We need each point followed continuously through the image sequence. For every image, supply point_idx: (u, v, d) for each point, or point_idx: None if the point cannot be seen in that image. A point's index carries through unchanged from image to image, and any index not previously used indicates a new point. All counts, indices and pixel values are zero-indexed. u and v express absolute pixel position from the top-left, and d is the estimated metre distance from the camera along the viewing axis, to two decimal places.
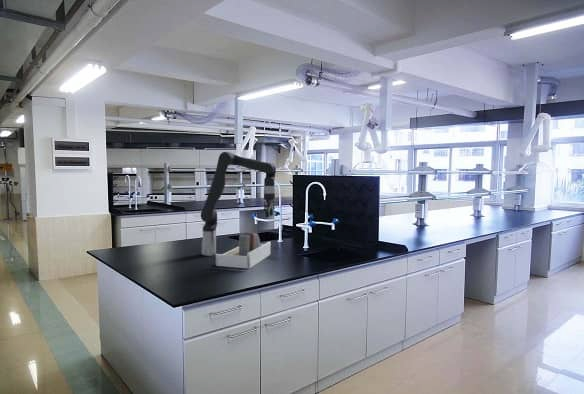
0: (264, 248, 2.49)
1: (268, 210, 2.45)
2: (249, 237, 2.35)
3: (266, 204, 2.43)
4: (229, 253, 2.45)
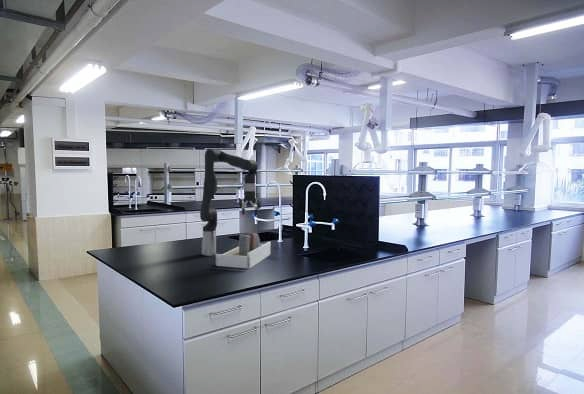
0: (264, 248, 2.49)
1: None
2: (249, 237, 2.35)
3: None
4: (229, 253, 2.45)
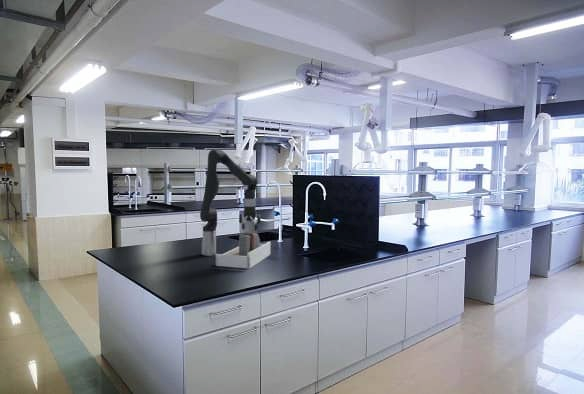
0: (264, 248, 2.49)
1: None
2: (249, 237, 2.35)
3: (259, 217, 2.42)
4: (229, 253, 2.45)
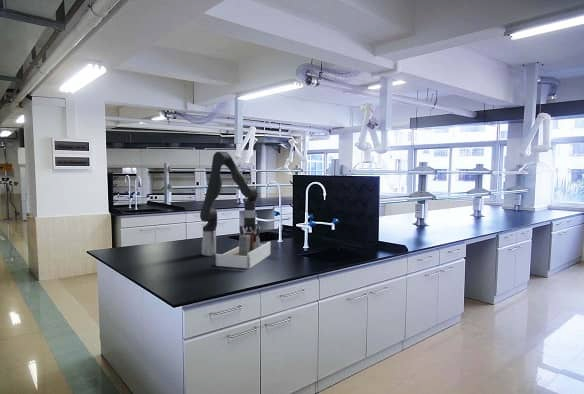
0: (264, 248, 2.49)
1: None
2: (249, 237, 2.35)
3: (259, 229, 2.42)
4: (229, 253, 2.45)
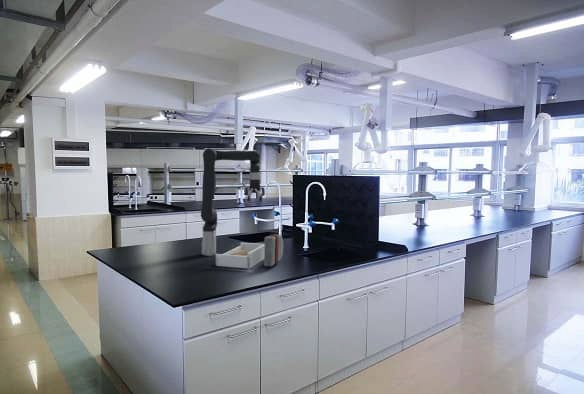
0: None
1: None
2: (274, 239, 2.30)
3: (264, 189, 2.63)
4: (229, 253, 2.45)
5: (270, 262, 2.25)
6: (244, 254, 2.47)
